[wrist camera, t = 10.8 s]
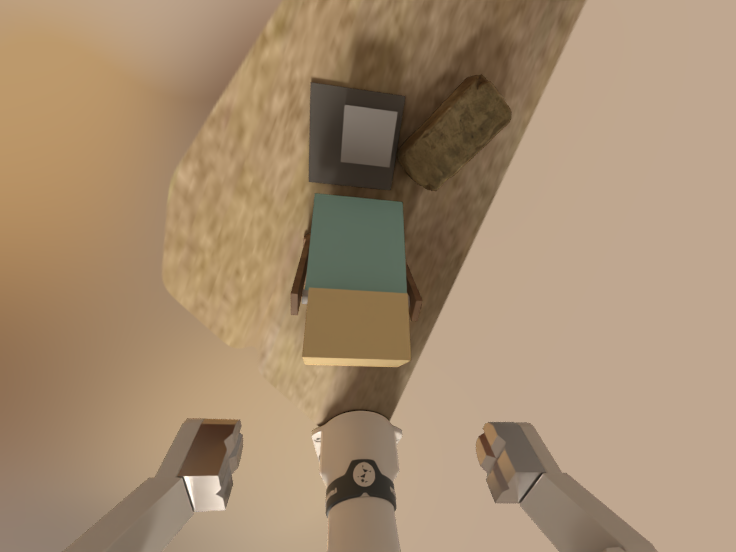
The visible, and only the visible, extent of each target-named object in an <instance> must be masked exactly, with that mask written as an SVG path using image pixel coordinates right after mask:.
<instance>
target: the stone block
mask: <svg viewBox="0 0 736 552" xmlns="http://www.w3.org/2000/svg"><path fill="white" fill-rule="evenodd" d="M510 120H511V110H510V108H509V106H508V105H507V104H506V102H505V100H504V98H503V96H502V95H500V94H499V92H498V91H497V89H496V88H495V86H494V85H493V84H492V83H491V82H488V81H487V80H486V78H485V77H484V76H483V75H482V74H481V75H475V76H471V77H468V78H466V79H465V80H464V81H463V82H462V83H461V85H460V86H459V87H458V88H457V89H456V90H455V91H454V92H453V93H452V94H451V95H450V96H449V97H448V98H447V99H446V100H445V101H444V102H443V104H442V105H441V106H440V107H439V108H438V109H437V110H436V111H435V112H434V113H433V114H432V116H431V117H430V118H429V119H428V120H427V121H425V123H424V124H423V125H422V126H421V127H420V128H419V129H418V130H417V131H416V132H414V133H413V134H412V135H411V136H410V137H409V138H408V139H407V140H406V141H405V142H404V144H403V145H402V146H401V147H400V149H399V150H398V151H397V157H398V160H399V163H400V164H401V165H402V166H403V168H404V169H405V171H406V173H407V174H408V175H409V176H410V177H411V178H412V179H413V180H414V181H415V182H416V183H417V184H419V185H421V186H423V187H424V188H426V189H428V190H431V191H437V190H438V189H439V188H440V187H441V186H442V184H443V183H444V182H445V181H446V180H447V179H449V178H450V177H452V176H454V175H455V174H456V173H457V172H458V171H459V170H460V169H461V168H462V167H463V166H464V165H465V164H466V163H467V162H468V161H470V160H471V159H472V158H473V157H474V156H475V155H476V154H477V153H478V152H479V151H480V150H481V149H482V148H484V147H485V146H486V145H487V144H488V143H489V142H490V141H491V140H492V139H493V138H494V137H495V136H496V135H497V134H498V133H499V132H500V131H501V130H502V129H503V128H504V127H505V126H506V125H507V124H508V123H509V122H510Z"/></svg>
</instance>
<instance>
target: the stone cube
mask: <svg viewBox="0 0 736 552" xmlns="http://www.w3.org/2000/svg"><path fill="white" fill-rule="evenodd" d="M397 113H398V112H393V111H386V110H379V109H372V108H365V107H358V106H350V105H344V117H343V131H342V146H341V162H346V163H355V164H364V165H372V166H381V167H390V160H391V153H392V147H393V140H394V133H395V126H396V120H397Z"/></svg>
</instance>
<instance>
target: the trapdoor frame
mask: <svg viewBox="0 0 736 552" xmlns="http://www.w3.org/2000/svg"><path fill="white" fill-rule="evenodd" d="M310 236H311V234H307V236H306V237H304V239H303V251H302V254H301V258H300V262H299V265H298V269H297V273H296V276H295V280H294V283H293V287H292V291H291V315H298V311H299V306H300V301H301V297H302V292H303V287H304V285H306V275H307V265H308V256H309V246H310ZM405 262H406V260H405ZM406 283H407V293H408V295H409V297H410V306H409V315H410V318H411V321H417V320H418V316H419V313H420V309H421V305H422V299H421V296H420V294H419V291H418V289H417V287H416V284H415V282H414V279H413V277H412V275H411V272H410V270H409V267H408V265H407V263H406Z"/></svg>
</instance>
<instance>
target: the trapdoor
mask: <svg viewBox="0 0 736 552" xmlns="http://www.w3.org/2000/svg"><path fill="white" fill-rule="evenodd" d="M302 304H307V313H306V323H305V333H304V343H303V354H302V358H303V360H304V363H305V365H335V366H373V367H399V366H401V365H403V364H405V363H407V362H409V361H411V349H410V328H409V306H410V297H409V295H408V293H407V283H406V262H405V241H404V220H403V202H398V201H388V200H378V199H368V198H358V197H348V196H338V195H328V194H318V193H315V198H314V207H313V217H312V227H311V236H310V246H309V256H308V265H307V275H306V285H305V289H303V292H302Z"/></svg>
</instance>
